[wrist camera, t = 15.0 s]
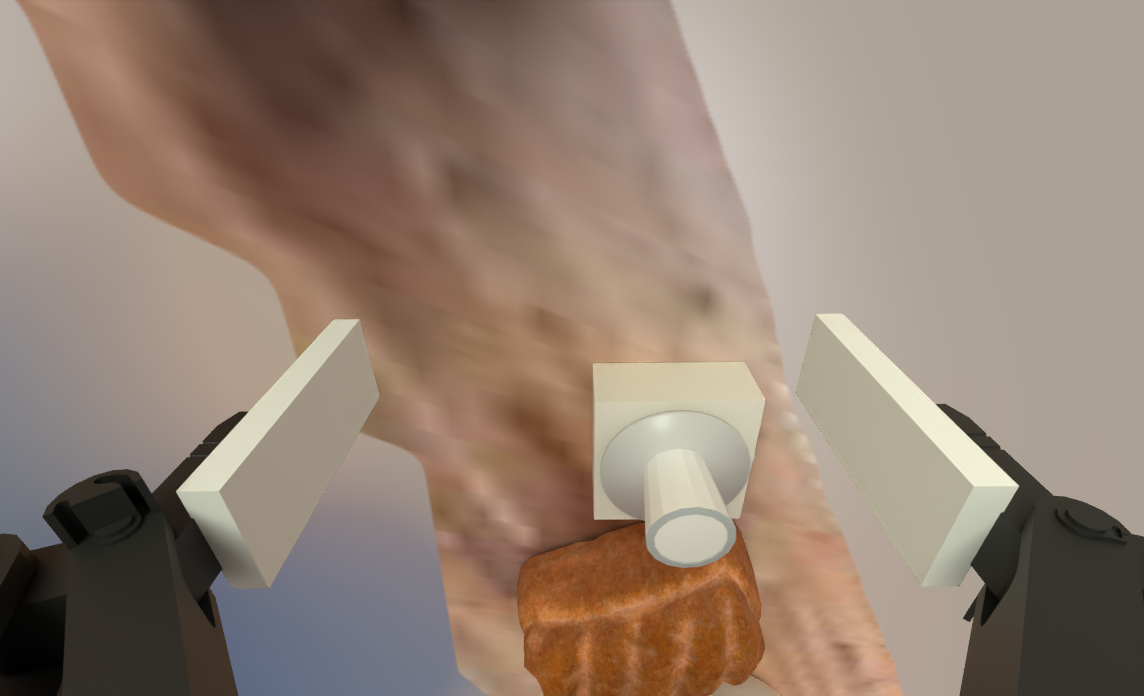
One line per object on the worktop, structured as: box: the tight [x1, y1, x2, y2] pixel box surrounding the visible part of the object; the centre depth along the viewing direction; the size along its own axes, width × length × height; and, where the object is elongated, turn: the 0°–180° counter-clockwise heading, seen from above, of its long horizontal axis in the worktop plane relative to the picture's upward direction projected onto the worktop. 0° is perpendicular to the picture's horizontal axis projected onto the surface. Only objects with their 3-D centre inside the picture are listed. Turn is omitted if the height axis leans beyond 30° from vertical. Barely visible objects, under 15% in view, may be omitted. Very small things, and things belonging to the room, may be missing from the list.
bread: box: [518, 519, 765, 696], centre depth 54 cm, size 14×26×16 cm, turn 114°
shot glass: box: [643, 449, 736, 568], centre depth 41 cm, size 7×7×7 cm
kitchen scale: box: [592, 362, 766, 521], centre depth 47 cm, size 15×14×7 cm
